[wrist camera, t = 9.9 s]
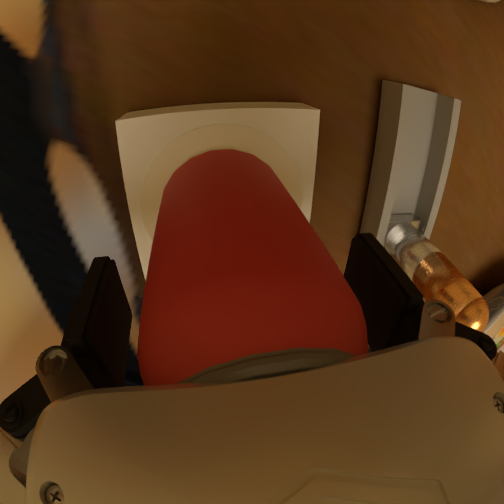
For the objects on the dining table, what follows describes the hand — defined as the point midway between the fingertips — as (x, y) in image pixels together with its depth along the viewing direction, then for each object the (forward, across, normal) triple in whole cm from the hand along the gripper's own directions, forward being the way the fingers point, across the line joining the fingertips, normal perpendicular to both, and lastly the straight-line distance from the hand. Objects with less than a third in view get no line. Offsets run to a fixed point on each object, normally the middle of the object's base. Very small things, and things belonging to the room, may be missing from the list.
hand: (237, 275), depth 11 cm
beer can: (+6, 0, 0) cm, 6 cm away
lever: (+8, -14, +4) cm, 16 cm away
